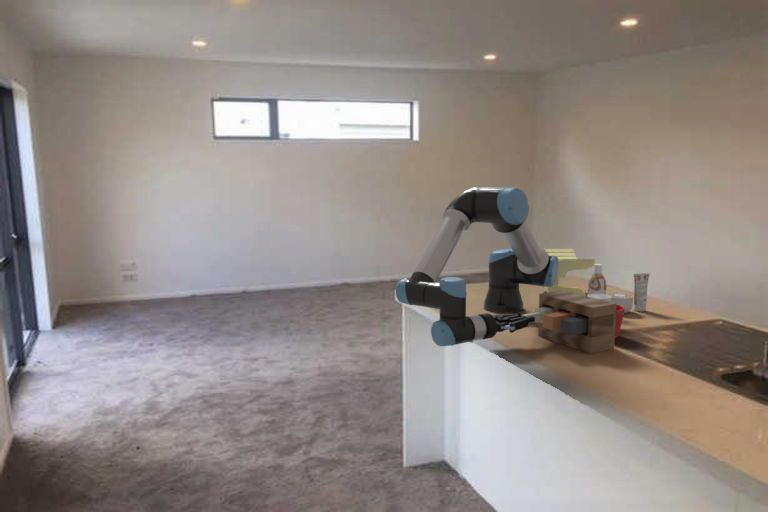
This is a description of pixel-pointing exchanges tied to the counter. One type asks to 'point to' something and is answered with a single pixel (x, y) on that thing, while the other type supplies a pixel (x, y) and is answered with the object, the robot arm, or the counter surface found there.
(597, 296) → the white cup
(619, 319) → the flower pot
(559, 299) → the box
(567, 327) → the slate key
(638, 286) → the cosmetic set
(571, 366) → the counter surface
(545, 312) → the sage key
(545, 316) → the rust key
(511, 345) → the counter surface
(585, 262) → the slatted curved stool
